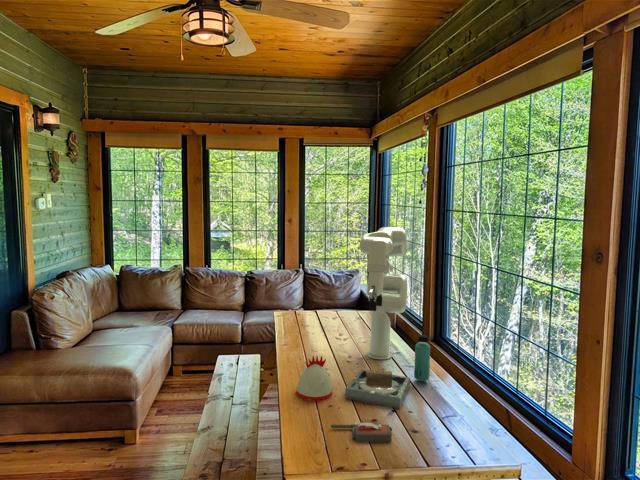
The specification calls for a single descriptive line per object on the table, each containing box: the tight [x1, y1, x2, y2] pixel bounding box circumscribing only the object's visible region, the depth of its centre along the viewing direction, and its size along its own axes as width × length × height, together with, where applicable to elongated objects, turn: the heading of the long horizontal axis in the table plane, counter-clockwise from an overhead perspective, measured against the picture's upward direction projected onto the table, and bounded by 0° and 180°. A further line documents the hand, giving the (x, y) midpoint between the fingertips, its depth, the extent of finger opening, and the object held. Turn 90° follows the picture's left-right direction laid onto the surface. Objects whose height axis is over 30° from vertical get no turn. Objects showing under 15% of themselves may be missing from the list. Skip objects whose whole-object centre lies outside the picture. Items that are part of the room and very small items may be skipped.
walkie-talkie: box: [330, 422, 393, 443], centre depth 142 cm, size 9×4×20 cm
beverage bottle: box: [413, 334, 432, 382], centre depth 185 cm, size 6×7×20 cm
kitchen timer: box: [296, 355, 333, 402], centre depth 172 cm, size 14×14×15 cm
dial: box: [359, 369, 399, 395], centre depth 174 cm, size 16×16×6 cm
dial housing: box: [344, 369, 411, 410], centre depth 174 cm, size 21×21×4 cm
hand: (375, 308), depth 187 cm, fingers open, 9 cm apart
